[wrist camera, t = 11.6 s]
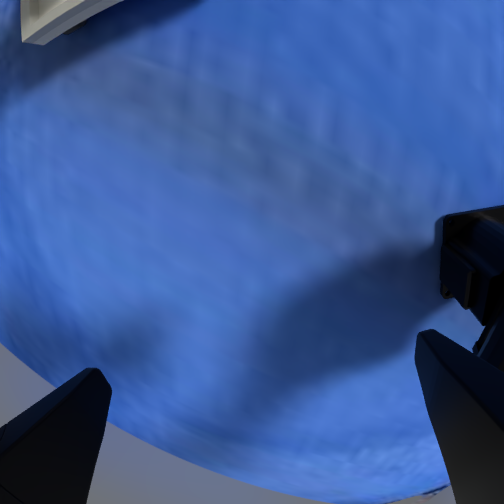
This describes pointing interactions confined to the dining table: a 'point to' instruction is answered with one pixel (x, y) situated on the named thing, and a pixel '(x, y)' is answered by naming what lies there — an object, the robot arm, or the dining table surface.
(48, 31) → the white square tray
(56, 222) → the dining table surface
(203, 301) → the dining table surface
